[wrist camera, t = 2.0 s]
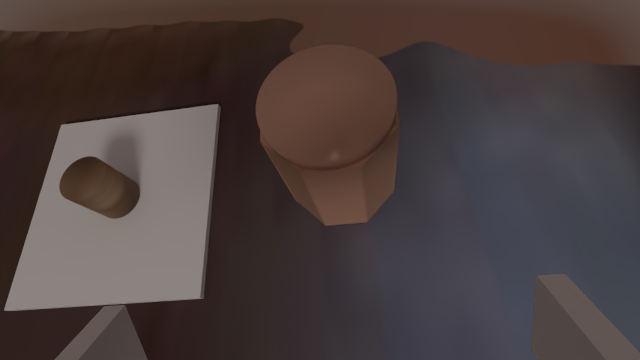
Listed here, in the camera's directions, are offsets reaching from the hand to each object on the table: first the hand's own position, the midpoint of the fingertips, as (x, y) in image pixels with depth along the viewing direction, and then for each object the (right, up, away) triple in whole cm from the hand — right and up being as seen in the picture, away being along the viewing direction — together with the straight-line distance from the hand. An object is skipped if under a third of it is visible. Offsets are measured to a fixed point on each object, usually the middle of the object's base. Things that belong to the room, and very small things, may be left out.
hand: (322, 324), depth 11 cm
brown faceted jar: (+2, +5, +18) cm, 19 cm away
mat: (-18, +3, +21) cm, 28 cm away
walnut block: (-18, +3, +20) cm, 27 cm away
